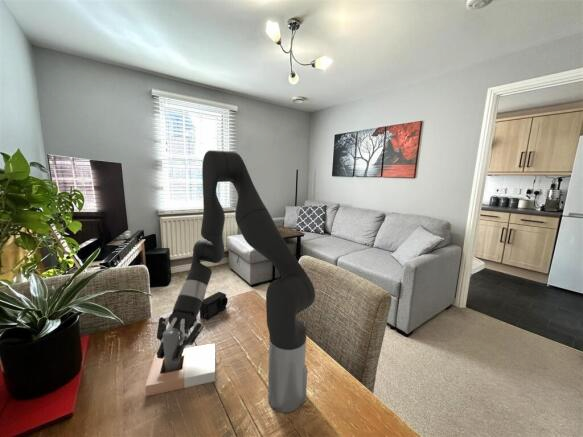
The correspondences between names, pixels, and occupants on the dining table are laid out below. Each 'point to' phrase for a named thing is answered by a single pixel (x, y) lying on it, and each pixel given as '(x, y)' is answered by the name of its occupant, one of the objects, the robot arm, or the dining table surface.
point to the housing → (183, 370)
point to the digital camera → (213, 305)
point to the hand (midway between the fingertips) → (167, 359)
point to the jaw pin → (170, 349)
